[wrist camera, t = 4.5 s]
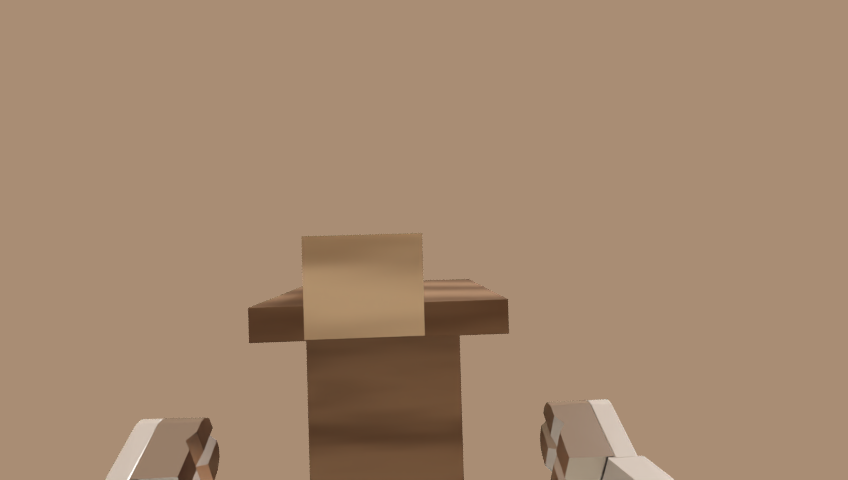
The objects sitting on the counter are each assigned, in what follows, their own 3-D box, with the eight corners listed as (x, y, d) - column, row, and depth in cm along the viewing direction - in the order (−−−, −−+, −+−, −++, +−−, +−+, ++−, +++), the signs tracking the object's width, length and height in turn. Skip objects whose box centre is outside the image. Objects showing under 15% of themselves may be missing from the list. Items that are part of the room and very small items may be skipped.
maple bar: (425, 335, 14) (421, 232, 14) (304, 340, 14) (301, 236, 14) (412, 281, 36) (411, 240, 36) (364, 282, 36) (363, 242, 36)
